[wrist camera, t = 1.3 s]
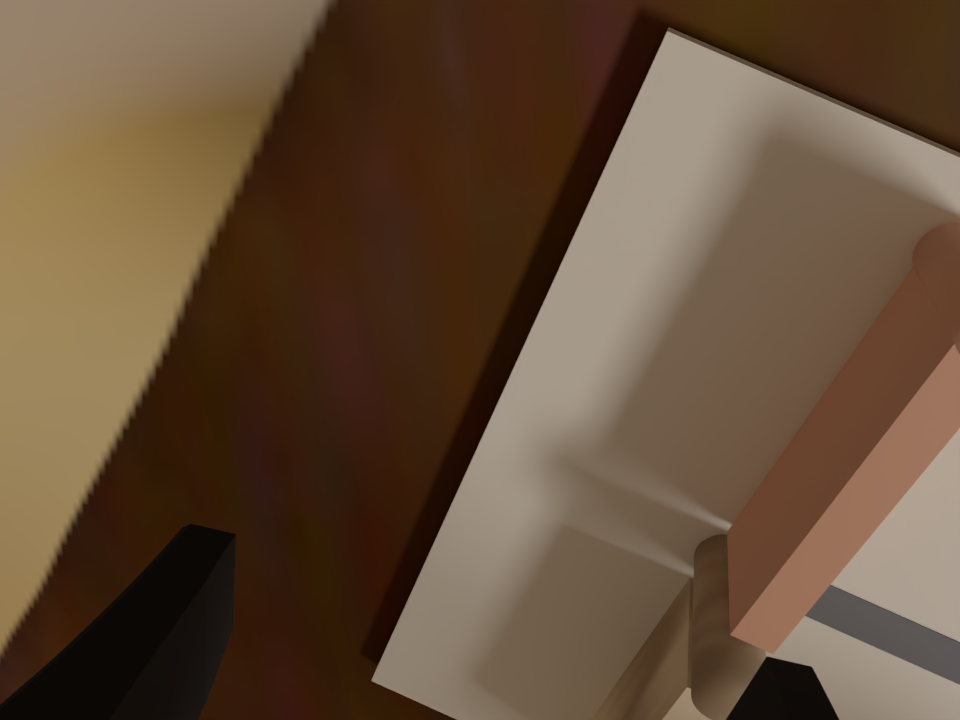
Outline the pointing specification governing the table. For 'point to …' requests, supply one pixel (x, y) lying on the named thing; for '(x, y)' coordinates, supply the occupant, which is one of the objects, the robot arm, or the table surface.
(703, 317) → the card
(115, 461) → the table surface
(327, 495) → the table surface
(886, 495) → the hinged fence panel
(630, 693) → the fixed fence
